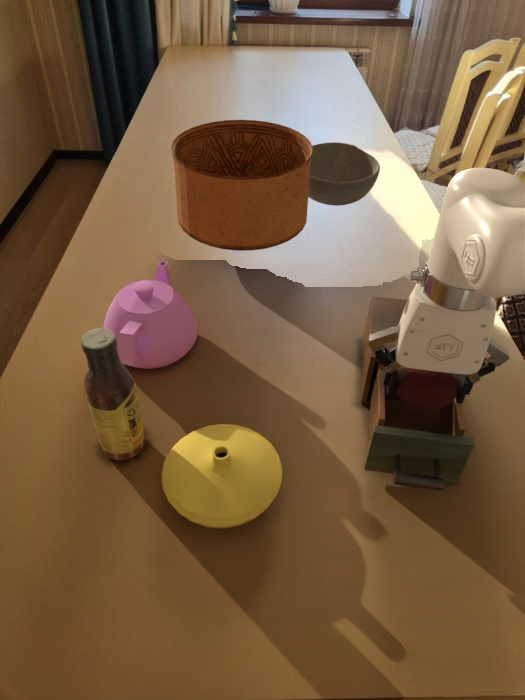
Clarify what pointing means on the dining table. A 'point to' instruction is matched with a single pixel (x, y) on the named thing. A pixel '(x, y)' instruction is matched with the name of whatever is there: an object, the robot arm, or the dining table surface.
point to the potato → (426, 388)
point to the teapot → (151, 322)
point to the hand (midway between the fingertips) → (423, 391)
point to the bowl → (341, 173)
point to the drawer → (415, 440)
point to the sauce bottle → (112, 397)
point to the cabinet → (378, 319)
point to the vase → (221, 475)
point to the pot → (242, 183)
